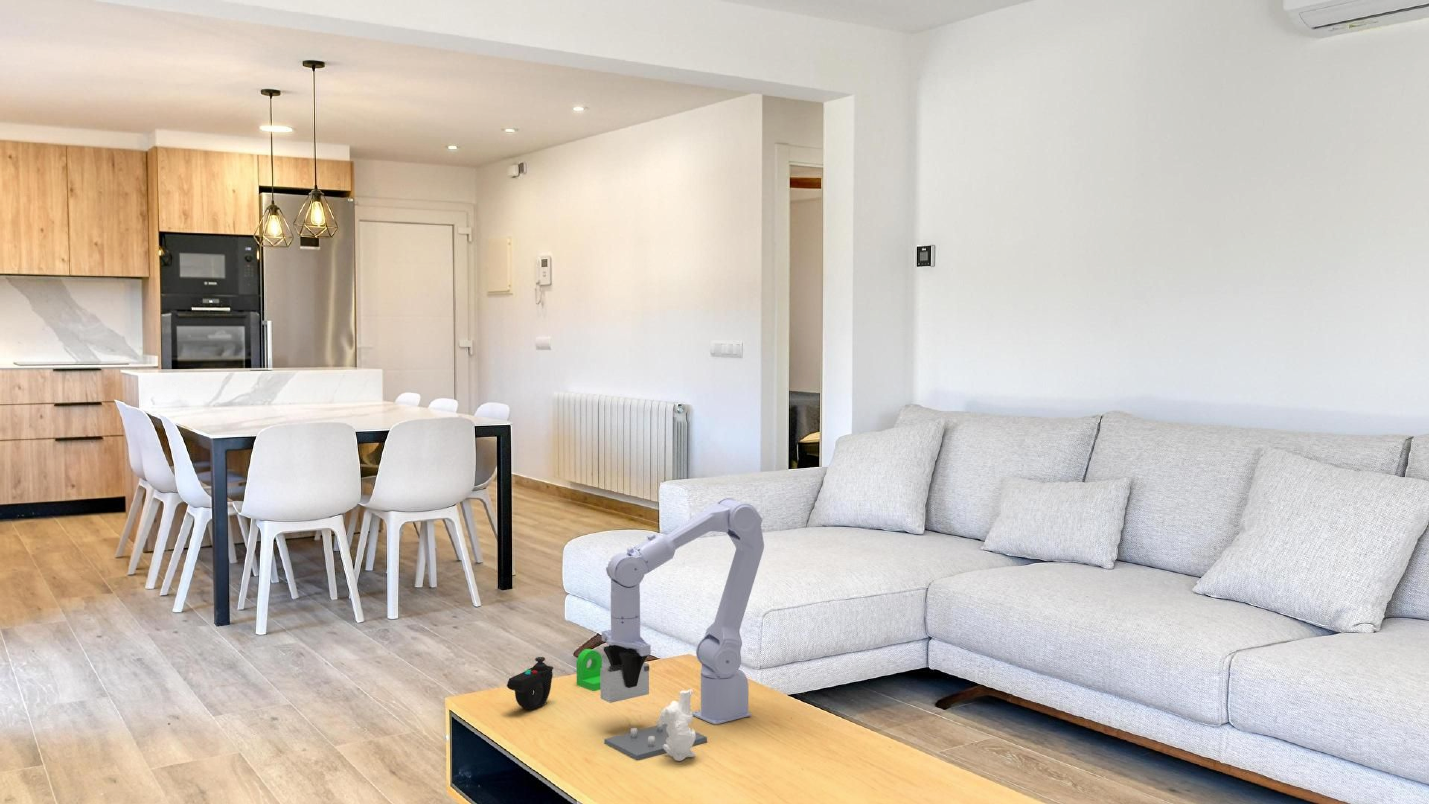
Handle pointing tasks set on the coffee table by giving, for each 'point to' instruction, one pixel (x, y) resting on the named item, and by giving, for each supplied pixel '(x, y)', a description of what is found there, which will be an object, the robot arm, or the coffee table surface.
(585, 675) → the mechanical part
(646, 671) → the block
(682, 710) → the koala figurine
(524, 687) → the controller
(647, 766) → the coffee table surface
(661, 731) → the pin tray
